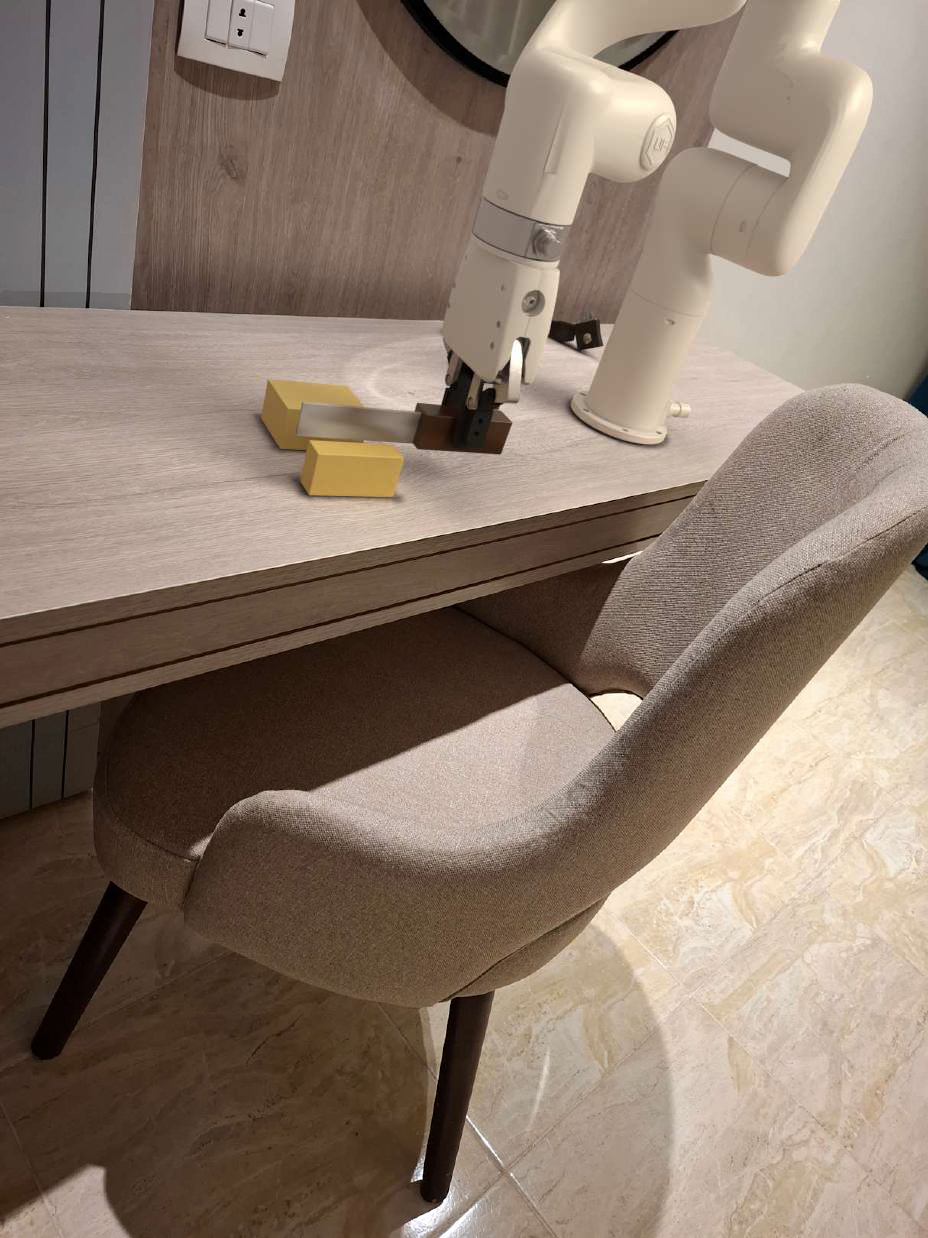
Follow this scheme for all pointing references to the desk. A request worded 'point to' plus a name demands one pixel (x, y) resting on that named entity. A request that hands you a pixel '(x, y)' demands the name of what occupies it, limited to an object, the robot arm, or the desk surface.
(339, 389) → the butter block
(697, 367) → the desk surface
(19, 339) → the desk surface
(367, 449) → the butter slice
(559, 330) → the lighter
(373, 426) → the knife
